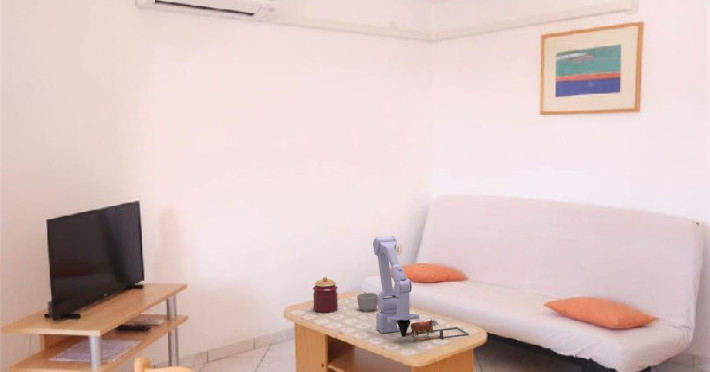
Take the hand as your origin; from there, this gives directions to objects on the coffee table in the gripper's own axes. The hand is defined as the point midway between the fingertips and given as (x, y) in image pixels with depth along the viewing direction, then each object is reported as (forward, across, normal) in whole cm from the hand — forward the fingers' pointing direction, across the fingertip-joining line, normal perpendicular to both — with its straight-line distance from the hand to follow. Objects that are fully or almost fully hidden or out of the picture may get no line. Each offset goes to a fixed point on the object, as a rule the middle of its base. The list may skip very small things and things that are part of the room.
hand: (403, 336), depth 277 cm
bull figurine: (+2, +10, 0) cm, 10 cm away
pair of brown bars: (+2, +10, 0) cm, 10 cm away
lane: (+2, +23, 0) cm, 23 cm away
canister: (+2, -20, +58) cm, 61 cm away
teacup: (+2, +1, +51) cm, 51 cm away
